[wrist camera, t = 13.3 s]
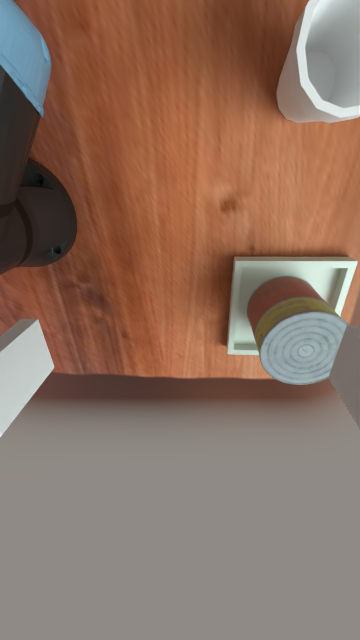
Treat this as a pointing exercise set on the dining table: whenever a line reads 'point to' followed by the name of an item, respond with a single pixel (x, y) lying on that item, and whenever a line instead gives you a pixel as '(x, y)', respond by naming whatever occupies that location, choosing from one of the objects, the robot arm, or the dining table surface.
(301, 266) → the tray
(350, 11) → the foam cup
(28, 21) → the robot arm
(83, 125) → the dining table surface
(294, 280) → the canned food
